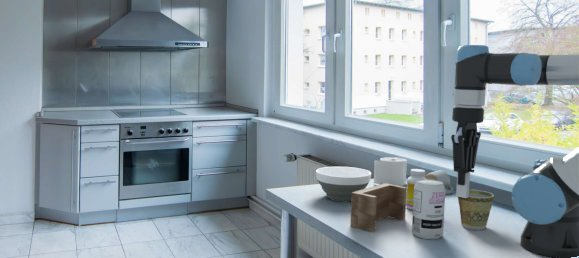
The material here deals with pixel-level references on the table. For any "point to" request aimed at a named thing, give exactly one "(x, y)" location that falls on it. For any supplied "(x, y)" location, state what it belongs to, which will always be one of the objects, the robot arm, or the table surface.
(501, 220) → the table surface
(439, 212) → the supplement can
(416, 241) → the table surface
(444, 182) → the ceramic mug
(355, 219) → the wooden bridge block
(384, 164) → the toilet tissue
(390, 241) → the table surface
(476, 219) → the ceramic cup
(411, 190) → the supplement bottle
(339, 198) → the bowl
